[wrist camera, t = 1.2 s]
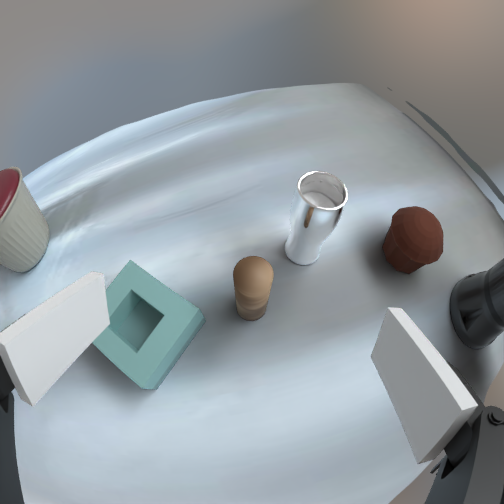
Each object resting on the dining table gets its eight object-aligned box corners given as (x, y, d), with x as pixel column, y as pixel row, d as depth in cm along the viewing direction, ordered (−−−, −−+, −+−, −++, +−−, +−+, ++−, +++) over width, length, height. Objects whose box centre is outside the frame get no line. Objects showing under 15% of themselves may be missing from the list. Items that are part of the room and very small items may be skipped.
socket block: (205, 320, 39) (199, 308, 34) (156, 389, 34) (142, 388, 28) (143, 276, 42) (130, 259, 37) (97, 337, 37) (78, 327, 31)
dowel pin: (271, 302, 41) (280, 268, 30) (256, 326, 39) (260, 300, 28) (246, 288, 42) (247, 249, 31) (231, 311, 40) (225, 279, 29)
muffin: (395, 218, 49) (417, 185, 41) (433, 255, 45) (460, 227, 37) (364, 250, 45) (387, 217, 37) (407, 292, 41) (438, 267, 33)
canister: (-1, 285, 39) (-60, 236, 21) (21, 218, 48) (-23, 162, 30) (49, 287, 40) (-23, 227, 22) (70, 210, 49) (24, 140, 30)
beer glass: (289, 271, 43) (307, 215, 30) (277, 235, 46) (287, 172, 33) (328, 262, 44) (358, 207, 31) (314, 228, 47) (336, 167, 34)
